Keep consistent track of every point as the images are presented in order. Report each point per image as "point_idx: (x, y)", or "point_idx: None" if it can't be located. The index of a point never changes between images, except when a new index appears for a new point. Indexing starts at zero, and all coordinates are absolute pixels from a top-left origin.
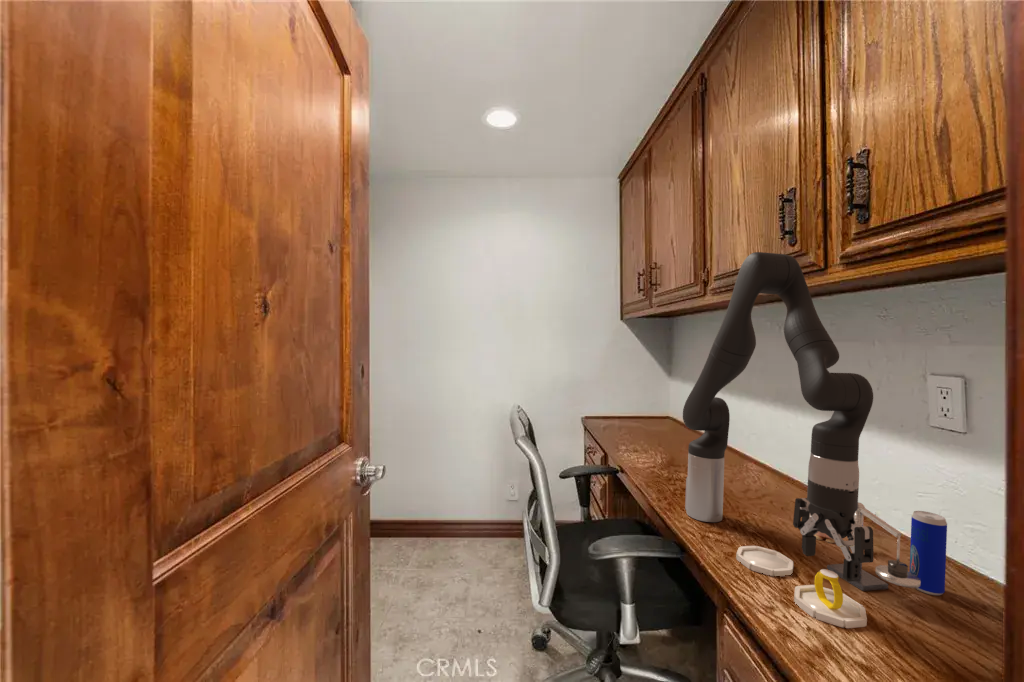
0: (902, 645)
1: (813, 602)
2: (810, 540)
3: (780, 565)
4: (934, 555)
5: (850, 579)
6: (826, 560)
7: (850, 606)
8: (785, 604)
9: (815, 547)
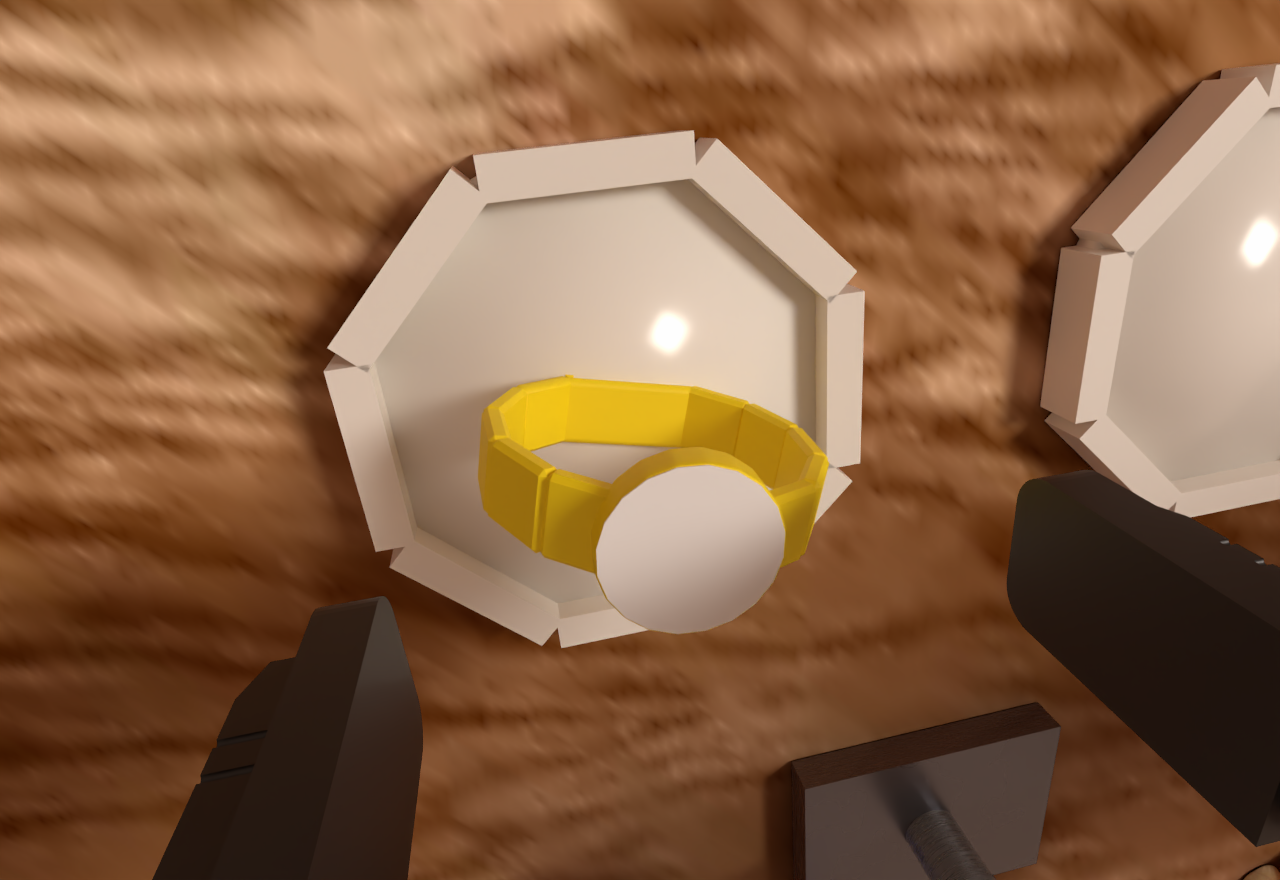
0: (179, 625)
1: (654, 301)
2: (1222, 692)
3: (1163, 396)
4: None
5: (284, 660)
6: (1117, 757)
7: None
8: (675, 17)
9: (1088, 684)
